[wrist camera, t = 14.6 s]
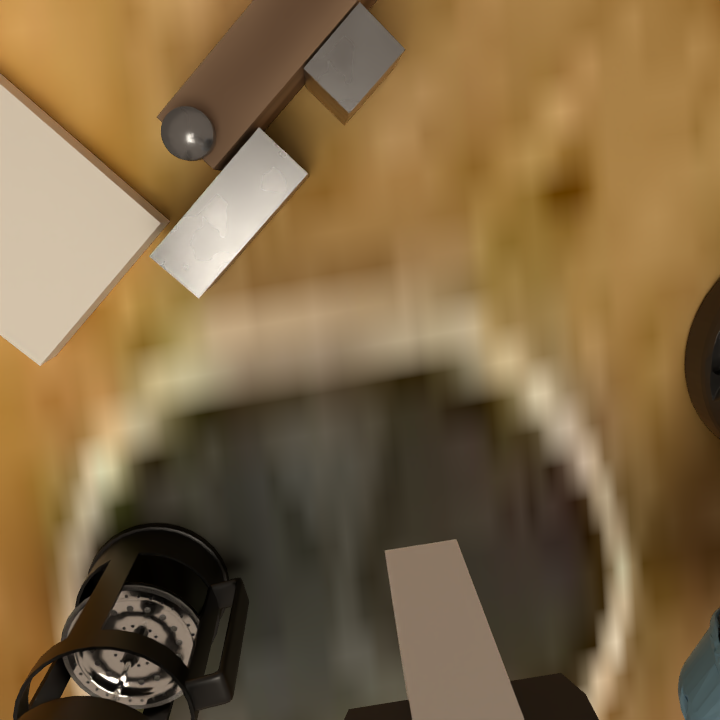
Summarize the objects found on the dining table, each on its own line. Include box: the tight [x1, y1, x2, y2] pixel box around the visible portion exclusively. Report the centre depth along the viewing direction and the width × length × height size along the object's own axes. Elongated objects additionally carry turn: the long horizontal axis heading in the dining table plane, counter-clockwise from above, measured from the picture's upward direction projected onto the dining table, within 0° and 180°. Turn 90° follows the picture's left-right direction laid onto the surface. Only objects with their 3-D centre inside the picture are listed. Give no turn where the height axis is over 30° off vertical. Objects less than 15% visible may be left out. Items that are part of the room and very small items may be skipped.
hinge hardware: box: [150, 2, 405, 298], centre depth 35 cm, size 16×6×7 cm, turn 137°
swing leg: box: [157, 0, 377, 171], centre depth 34 cm, size 4×16×6 cm, turn 137°
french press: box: [13, 524, 249, 720], centre depth 34 cm, size 12×9×23 cm
